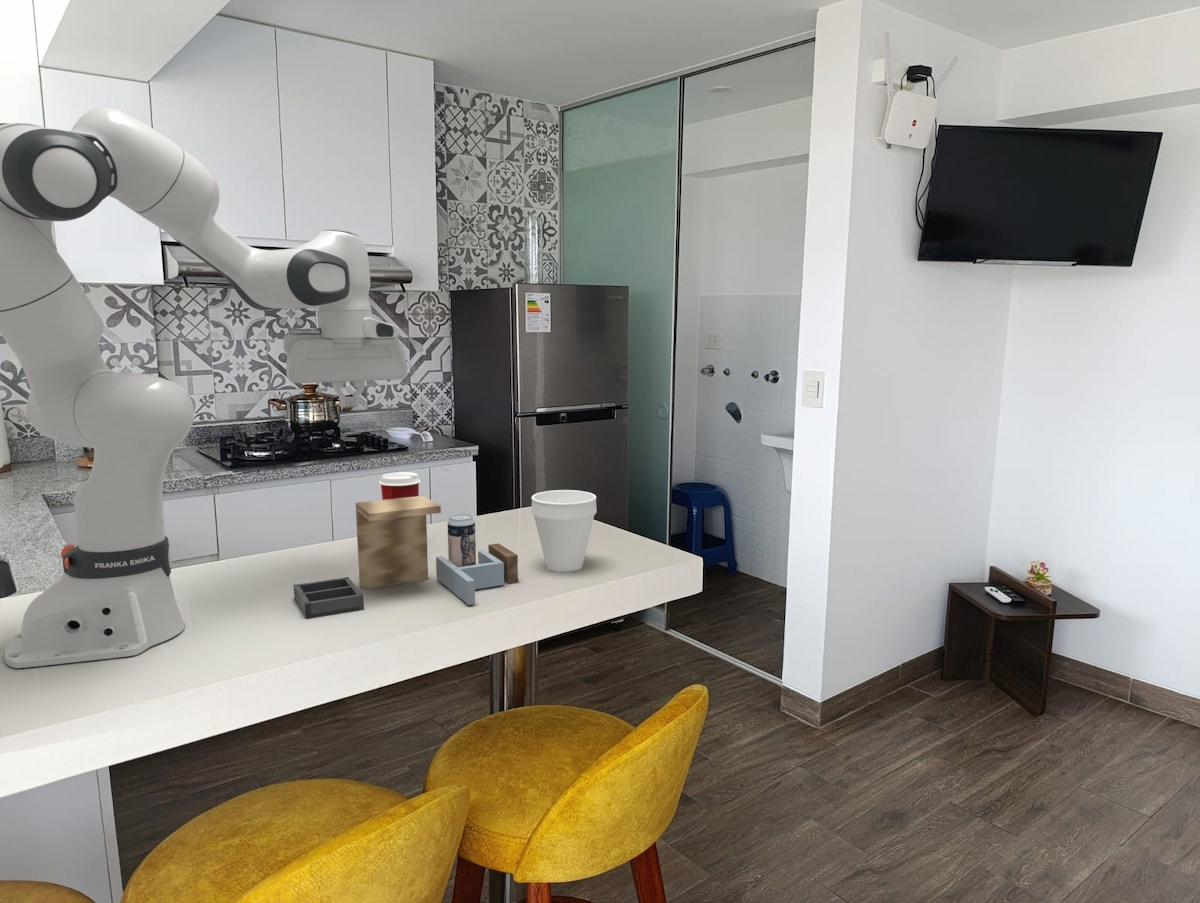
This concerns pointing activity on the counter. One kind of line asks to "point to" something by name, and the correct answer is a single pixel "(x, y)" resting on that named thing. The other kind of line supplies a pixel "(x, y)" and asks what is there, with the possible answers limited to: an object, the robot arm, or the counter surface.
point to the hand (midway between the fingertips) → (349, 407)
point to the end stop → (506, 561)
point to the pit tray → (328, 597)
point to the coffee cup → (399, 485)
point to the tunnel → (393, 540)
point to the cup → (564, 526)
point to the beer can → (461, 540)
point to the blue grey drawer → (470, 575)
